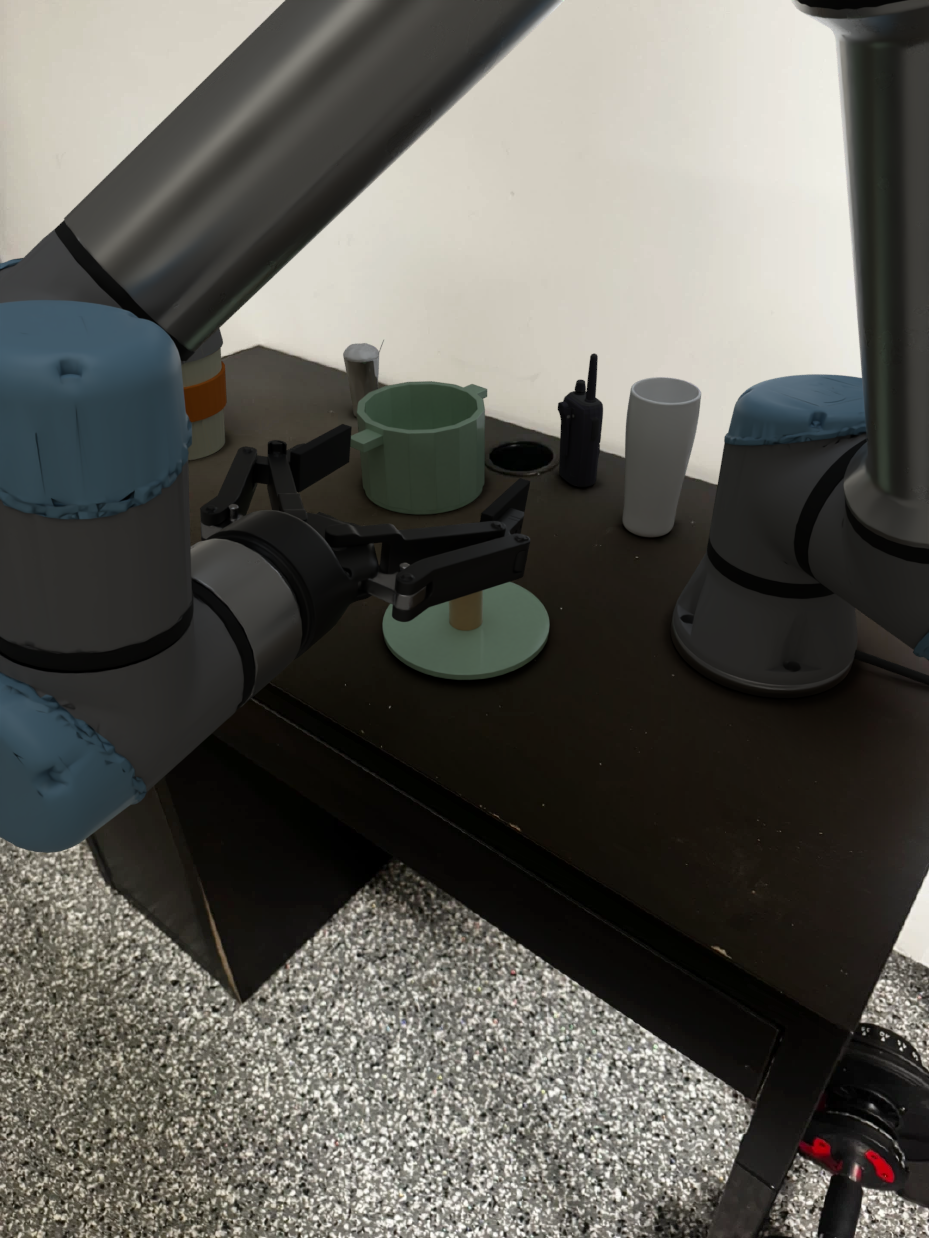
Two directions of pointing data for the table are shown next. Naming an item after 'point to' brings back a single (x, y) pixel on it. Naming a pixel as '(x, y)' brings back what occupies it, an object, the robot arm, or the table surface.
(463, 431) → the pot
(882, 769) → the table surface
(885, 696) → the table surface
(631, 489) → the drinking glass
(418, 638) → the lid
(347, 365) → the milkshake
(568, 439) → the two-way radio
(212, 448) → the reusable coffee cup
